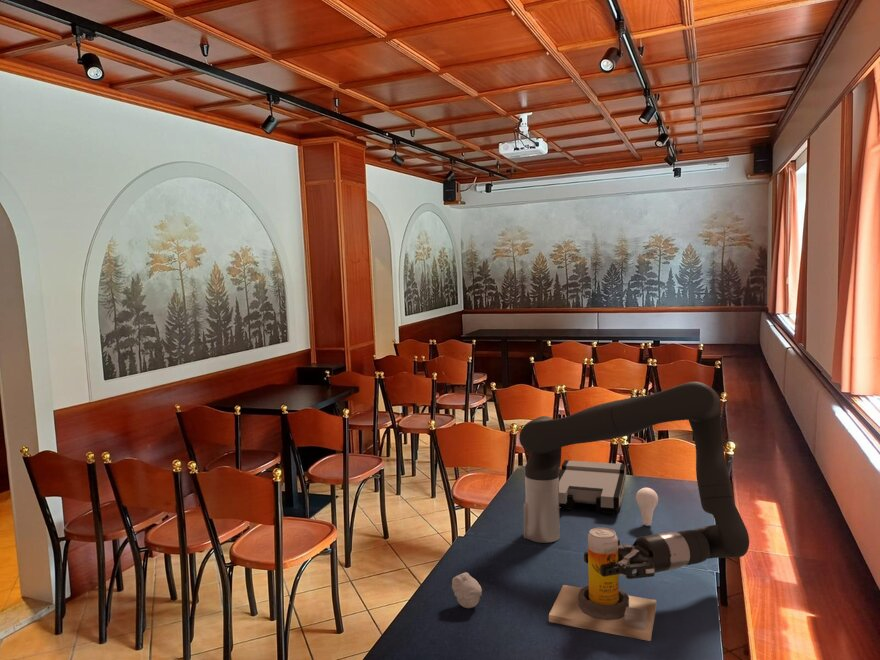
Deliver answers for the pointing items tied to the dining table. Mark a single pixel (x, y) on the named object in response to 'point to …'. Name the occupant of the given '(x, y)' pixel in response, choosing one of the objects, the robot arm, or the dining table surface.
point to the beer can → (601, 553)
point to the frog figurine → (466, 590)
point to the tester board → (604, 613)
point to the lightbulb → (646, 504)
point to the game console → (592, 485)
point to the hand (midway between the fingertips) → (593, 564)
